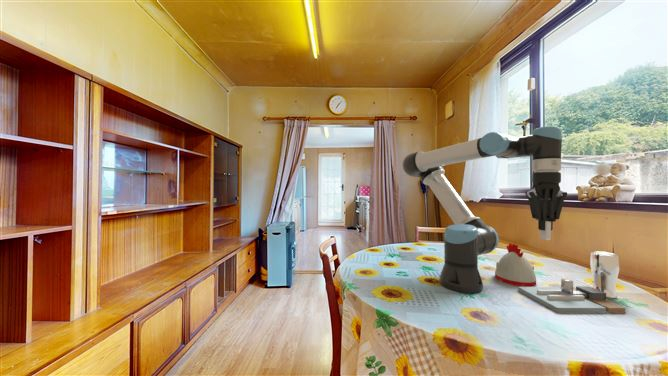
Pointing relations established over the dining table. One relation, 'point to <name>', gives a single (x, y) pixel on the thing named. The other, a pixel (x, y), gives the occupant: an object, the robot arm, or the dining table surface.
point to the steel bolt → (570, 289)
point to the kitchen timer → (515, 268)
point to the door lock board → (572, 300)
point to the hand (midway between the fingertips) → (545, 239)
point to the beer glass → (605, 272)
